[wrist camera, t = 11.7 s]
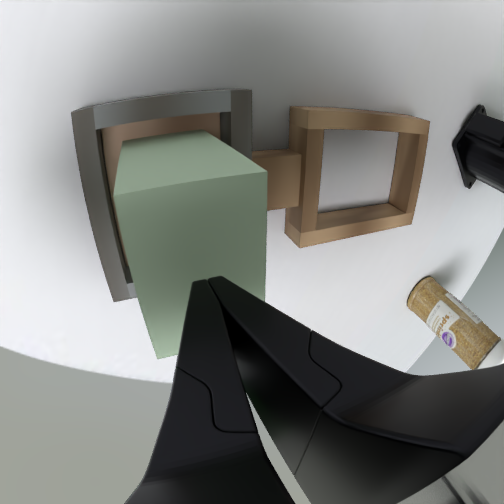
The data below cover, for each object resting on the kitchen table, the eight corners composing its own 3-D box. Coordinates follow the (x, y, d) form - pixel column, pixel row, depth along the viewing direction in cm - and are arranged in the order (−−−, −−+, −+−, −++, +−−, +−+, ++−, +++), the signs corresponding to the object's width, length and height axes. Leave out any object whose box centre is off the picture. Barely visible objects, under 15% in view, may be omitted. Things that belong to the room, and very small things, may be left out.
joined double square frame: (410, 102, 18) (431, 107, 16) (392, 224, 23) (408, 235, 22) (78, 109, 12) (71, 112, 10) (113, 281, 17) (113, 302, 15)
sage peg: (209, 234, 18) (264, 332, 11) (140, 248, 16) (157, 359, 10) (202, 129, 14) (267, 171, 8) (122, 140, 13) (113, 195, 7)
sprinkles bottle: (404, 293, 30) (490, 377, 19) (432, 267, 30) (519, 343, 19) (407, 314, 32) (481, 391, 22) (433, 291, 32) (508, 361, 22)
